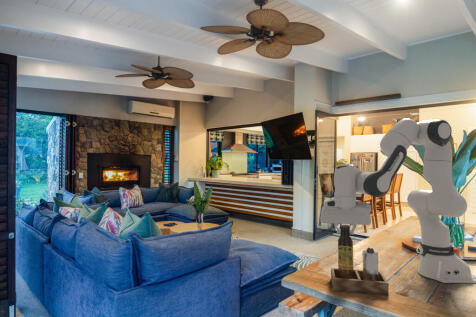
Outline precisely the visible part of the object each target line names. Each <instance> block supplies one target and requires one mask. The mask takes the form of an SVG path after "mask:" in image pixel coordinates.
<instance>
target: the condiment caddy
mask: <svg viewBox="0 0 476 317" xmlns="http://www.w3.org/2000/svg"><path fill="white" fill-rule="evenodd" d="M338 268H339V267H338ZM338 268H337V267H336V268H335V267H330V280H331V285H332V291H334V292H345V293H357V294H367V295H379V296H390V295H389V282H388V280H387V279H386V277H385V275H384V273H383V272H382V271H379V270H378V281H369V280H363V269H353V272H352V273H342V272H340V271H339V269H338Z"/></svg>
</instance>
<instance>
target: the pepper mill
mask: <svg viewBox="0 0 476 317" xmlns="http://www.w3.org/2000/svg"><path fill="white" fill-rule="evenodd" d="M362 270H363V280H369V281H378V271H379V252H378V251H376V250H375V249H374V248H373V247H370V246H369V247H367V248H366V249H364V250H362Z"/></svg>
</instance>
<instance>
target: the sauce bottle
mask: <svg viewBox="0 0 476 317" xmlns="http://www.w3.org/2000/svg"><path fill="white" fill-rule="evenodd" d="M339 229H340V230H341V234H339V237H338V239H337V266H338V269H339V271H340V272H342V273H352V272H353V270H354V267H355V266H354V244H353V242H354V241H353V239H352V237H351V235H350V230H351V225H350V224H339Z"/></svg>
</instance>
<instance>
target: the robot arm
mask: <svg viewBox="0 0 476 317" xmlns="http://www.w3.org/2000/svg"><path fill="white" fill-rule="evenodd" d="M452 134H453V133H452V126H451V125H450V123H449V122H448V121H447V120H445V119H439V118H437V119H429V120H421V121H418V122H417V121H415V120H413V119H412V118H402V119H400V120H399V121H398V122H395V124H394V125H393V126H392V127H391V128H390V129H389V130H388V131H387V132H386V133H385V135H383V137H382V138H381V141H380V143H379V148H380V150H381V152H382V153H383V154H384V156H386V157H387V158H386V159H385V161H384V162H383V163H382V165H381V167H380V168H379V169H378V170H376V171H373V172H372V171H365V170H362V169H359V168H358V167H357V166H355V165H354V164H353V163H343V164H339V165H337V166H336V167H335V168H334V175H333V178H334V179H333V186H334V193H333V197H331V198H330V197H329V198H327V199H324V200H323V206H322V207H321V212H320V222H321V223H322V224H333V225H334V228H335V229H336V234H337V235H340V234H341V230H340V228H338V226H339V225H352V229H350V236H351V235H353V236H354V234H355V232H354V231H355V230H356V228H357V225H358V226H359V225H363V226H370V224H371V223H372V218H371V213H372V206H371V204H370V203H368V202H366V201H365V202H364V201H363V202H361V201H360V202H359V201H357V193H359V194H362V195H368V196H371V197H374V198H382V197H385V195H387V194H388V193H389V192H390V189H391V186H392V184H393V181H394V178H396V175H397V173H398V172H399V170H400V169H401V167H402V166H403V163H404V162H405V160H406V158H407V155H408V149H409V148H410V147H411V146H423V147H424V155H423V163H422V164H423V166H422V177H423V178H424V179H425V181H427V182H428V183H429V184H430V186H431V189H416V190H414V189H413V190H411V191H410V192H409V193H408V195H407V199H406V202H407V205H408V206H409V208H411V209H412V211H413V212H414V213H415V215H416V217H417V219H418V222H419V226H420V234H421V235H420V236H421V238H420V240H421V242H420V243H419V244H420V245H419V253H420V260H419V265H418V269H417V273H418V274H419V275H421V276H423V277H425V278H428V279H431V280H435V281H438V282H440V283H444V284H476V276H475V274H473V273H472V271H471V267H470V265H469V263H467V262H466V261H464V260H462V258H460V257H459V256H458V255H456V254H459V253H460V249H458V248H457V247H454V246H452V245H451V237H450V236H451V234H450V233H451V230H450V228H449V226H448V225H447V224H445V222H443V220H441V217H447V218H459V217H463V216H464V215H465V213H466V211H467V209H468V203H467V200H466V199H465V197H464V196H463V195H461V194H460V192H458V190H457V189H456V187H455V185H454V182H453V176H452V175H453V149H452V142H451V141H450V139H451V137H452ZM440 216H441V217H440Z"/></svg>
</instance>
